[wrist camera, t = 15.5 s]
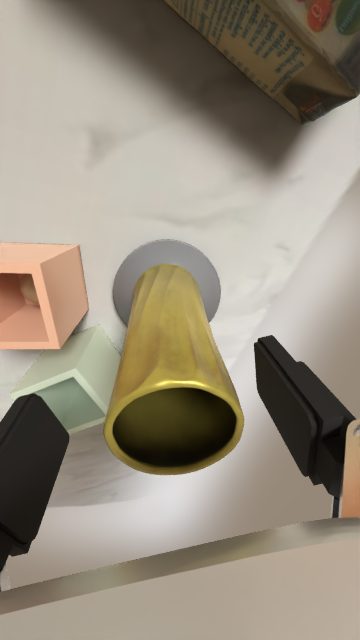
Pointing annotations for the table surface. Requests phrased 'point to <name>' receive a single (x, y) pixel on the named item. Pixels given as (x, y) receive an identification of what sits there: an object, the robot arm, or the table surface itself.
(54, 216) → the table surface
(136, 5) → the table surface
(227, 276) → the table surface
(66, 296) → the cup terracotta
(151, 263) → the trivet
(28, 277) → the cork ball
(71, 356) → the cup green
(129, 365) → the vase
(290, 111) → the beverage carton
